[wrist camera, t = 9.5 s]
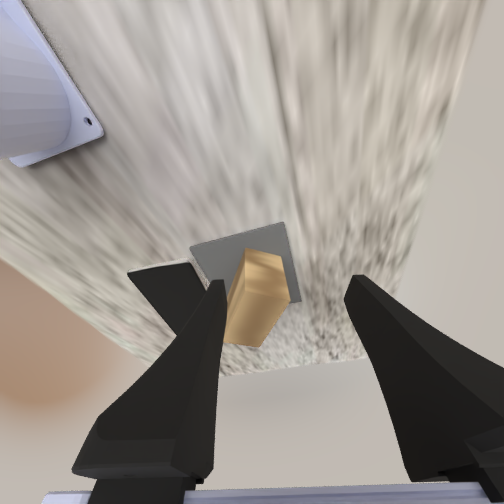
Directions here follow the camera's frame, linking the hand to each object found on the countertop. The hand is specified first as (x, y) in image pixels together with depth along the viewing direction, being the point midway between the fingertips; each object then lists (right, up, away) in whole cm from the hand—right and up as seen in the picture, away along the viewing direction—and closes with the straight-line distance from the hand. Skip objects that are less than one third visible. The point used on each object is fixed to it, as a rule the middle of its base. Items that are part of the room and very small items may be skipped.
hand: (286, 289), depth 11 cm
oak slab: (-2, -1, +12) cm, 12 cm away
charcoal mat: (-2, -1, +12) cm, 12 cm away
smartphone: (-11, -5, +16) cm, 20 cm away
